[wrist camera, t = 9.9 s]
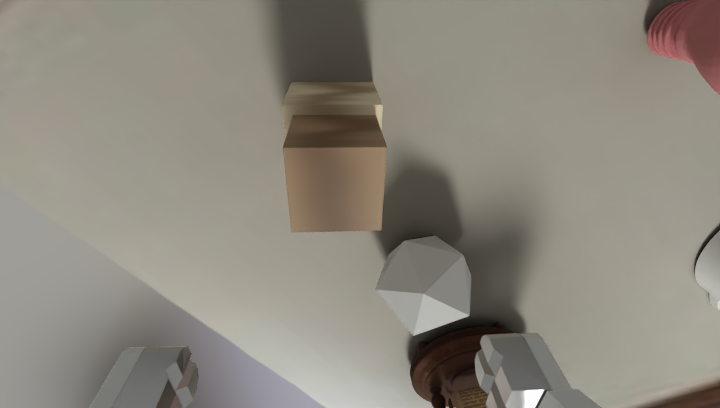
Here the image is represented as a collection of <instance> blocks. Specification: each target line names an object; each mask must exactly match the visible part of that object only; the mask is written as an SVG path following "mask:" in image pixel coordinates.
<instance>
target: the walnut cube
mask: <svg viewBox="0 0 720 408" xmlns="http://www.w3.org/2000/svg"><path fill="white" fill-rule="evenodd" d="M386 152H387V146H386V143H385V140H384V137H383V134H382V131H381V128H380V126H379V123H378V120H377V117H376V115H293V117H292V120H291V123H290V126H289V130H288V133H287V136H286V139H285V142H284V145H283V155H284V165H285V175H286V184H287V194H288V204H289V214H290V223H291V232H330V231H377V230H381V227H382V212H383V197H384V182H385V167H386Z"/></svg>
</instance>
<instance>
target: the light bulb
mask: <svg viewBox="0 0 720 408" xmlns="http://www.w3.org/2000/svg"><path fill="white" fill-rule="evenodd" d="M647 43H648V46H649V48H650V50H651V51H652V52H653V53H655V54H657V55H661V56H665V57H668V58H673V59H683V60H684V61H686V62H690V63H694V64H695V66H696V67H697V69H698V71H699V72H700V74H701V75H702V76H703V78H704V79H705V80H706V81H707V82H708V84H709V85H710V86H711V87H712V88H713V89H714V90H715V91H716V92H717V93H718V94H720V0H690V1H679V2H675V3H673V4H671V5H669V6H667V7H665V8H664V9H663V10H662V11H661V12H660V13H659V14H658V15H657V16H656V17H655V18H654V20H653V21H652V23H651V25H650V27H649V30H648V33H647Z"/></svg>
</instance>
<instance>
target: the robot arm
mask: <svg viewBox="0 0 720 408" xmlns="http://www.w3.org/2000/svg"><path fill="white" fill-rule="evenodd" d="M695 277H696V280H697V282H698V284H699V285H700V286H701V287H702V288H704V289H705V290H706V291H707V292H708V293H709V298H710V303H711V305H713V306H714V307H716V308H717V309H718V310H720V231H719V232H718V233H717V234H716V235H715V236H714V237H713V238H712V239H711V240H710V241H709V243H708V244H707V245H706V246H705V248H704V249H703V251H702V253H701V254H700V256H699V258H698V261H697V264H696V268H695ZM480 344H481V347H482V349H481V350H479V351H478V352H477V354H476V358H475V371H476V376H477V379H478V382H479V385H480V387H481V388H482V389H483V390H484V391H485V392H486V393H487V394H488V397H487V401H486V405H487V408H601V407H600V406H599V405H597V404H596V403H595V402H594V401H592V400H591V399H590V398H588V397H587V396H586V395H585V394H583V393H582V392H581V391H579V390H578V389H572V388H571V386H570V384H569V383H568V381H567V379H566V377H565V376H564V374H563V372H562V371H561V369H560V367H559V366H558V364H557V362H556V360H555V359H554V357H553V355H552V354H551V352H550V350H549V349H548V347H547V345H546V343H545V342H544V340H543V338H542V337H541V336H540V335H539V334H538V333H521V334H518V333H509V334H491V335H484V336H483V337H482V338H481V341H480ZM191 354H192V353H191V351H190V349H189V347H188V346H178V347H133V348H127V349H126V350H125V351H124V352H122V353H121V355H120V356H119V358H118V360H117V361H116V363H115V365H114V367H113V368H112V370H111V372H110V373H109V375H108V377H107V378H106V380H105V382H104V383H103V385H102V387H101V388H100V390H99V392H98V394H97V395H96V397H95V399H94V400H93V402H92V404H91V405H90V407H89V408H185V407H186V406H187V405H188V404H189V403H190V402H191V401H192V400H193V399H194V396H195V393H196V390H197V384H198V368H197V366H196V364H195V363H194V362H192V361H191V360H189V359H190V357H191Z"/></svg>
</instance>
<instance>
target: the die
mask: <svg viewBox="0 0 720 408" xmlns="http://www.w3.org/2000/svg"><path fill="white" fill-rule="evenodd" d="M375 290H376V291H377V292H378V293H379V295H380V296H381V297H382V298H383V300H384V301H385V302H386V303H387V304H388V306H389V307H390V308H391V309H392V310H393V312H394V313H395V314H396V315H397V317H398V318H399V319H400V320H401V321H402V323H403V324H404V325H405V326H406V327H407V329H408V330H409V331H410V332H411V334H412V335H413V336H415V335H417V334H420V333H423V332H426V331H429V330H431V329H434V328H437V327H440V326H443V325H445V324H448V323H451V322H454V321H457V320H459V319H462V318H465V317H468V316H470V296H471V274H470V271H469V268H468V266H467V263H466V260H465V258H464V255H463V254H461V253H460V252H459V251H457V250H456V249H454V248H453V247H451V246H450V245H448V244H447V243H445V242H444V241H442V240H441V239H440V238H438V237H437V236H430V237H424V238H417V239H411V240H405V241H403V242H402V243H401V244H400V245H399V246H398V247H397V248H395V249H394V250H393V251H392V252H391V253H390V254H389V255H388V256H387V259H386V262H385V264H384V267H383V270H382V272H381V275H380V278H379V281H378V283H377V286H376V289H375Z"/></svg>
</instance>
